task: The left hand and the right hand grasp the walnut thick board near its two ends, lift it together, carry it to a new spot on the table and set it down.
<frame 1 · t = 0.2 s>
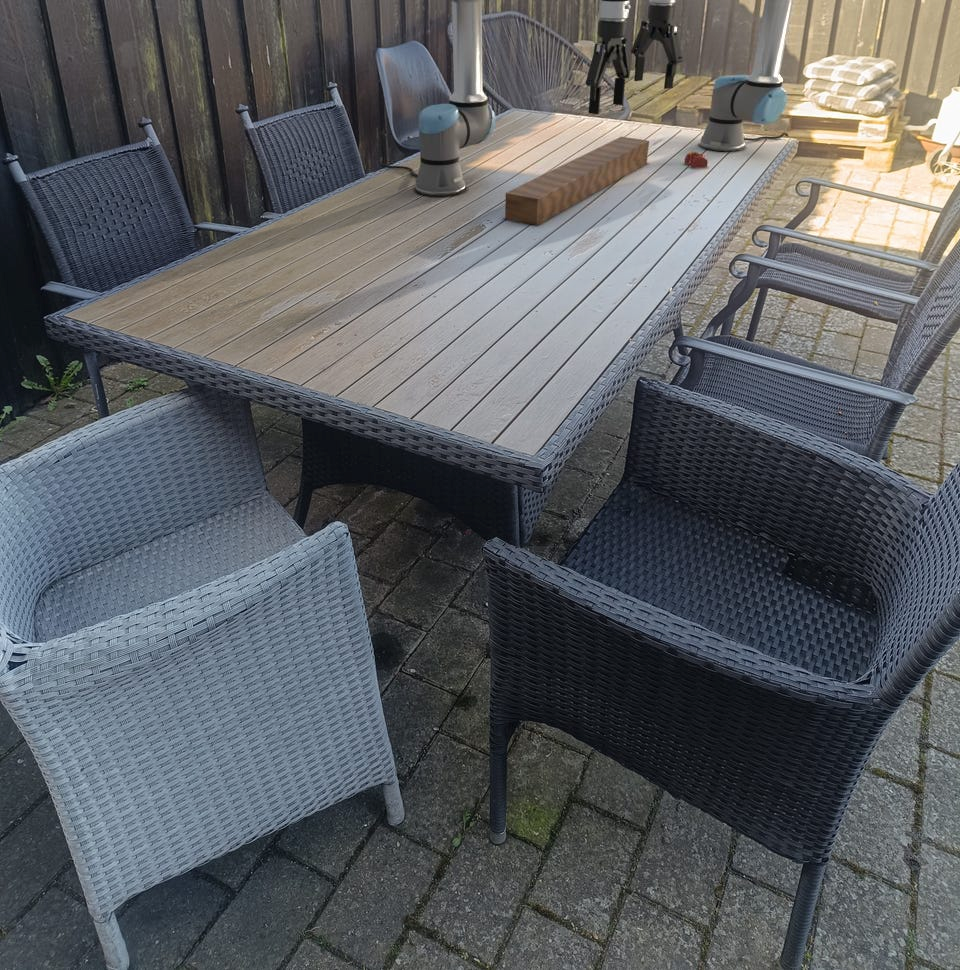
left hand: (606, 109, 226), 27 cm above the table, tool pointing down, fingers open, 13 cm apart
right hand: (652, 84, 255), 27 cm above the table, tool pointing down, fingers open, 13 cm apart
thick board: (582, 188, 259), on the table
dark red rounded lump: (695, 166, 280), on the table
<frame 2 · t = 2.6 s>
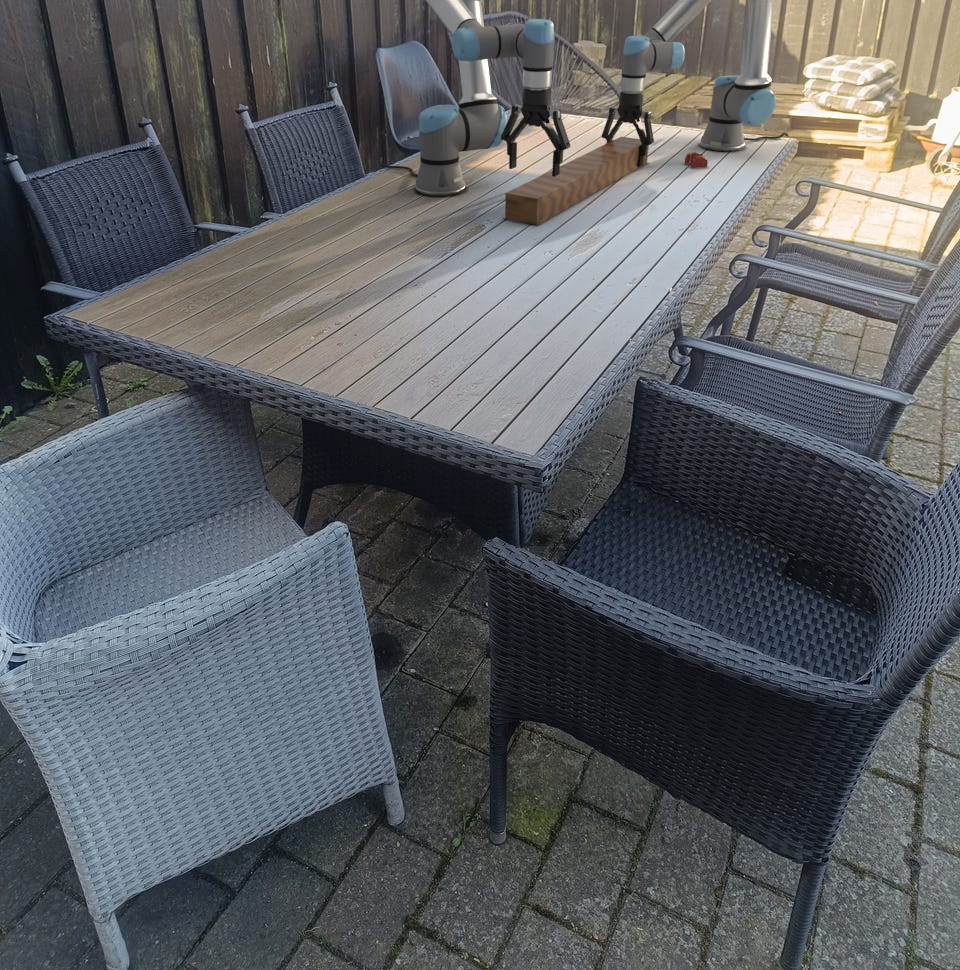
left hand: (533, 171, 231), 12 cm above the table, tool pointing down, fingers open, 13 cm apart
right hand: (624, 163, 280), 1 cm above the table, tool pointing down, fingers closed on thick board, 10 cm apart
thick board: (582, 188, 259), on the table, touching right hand
everything else where it was.
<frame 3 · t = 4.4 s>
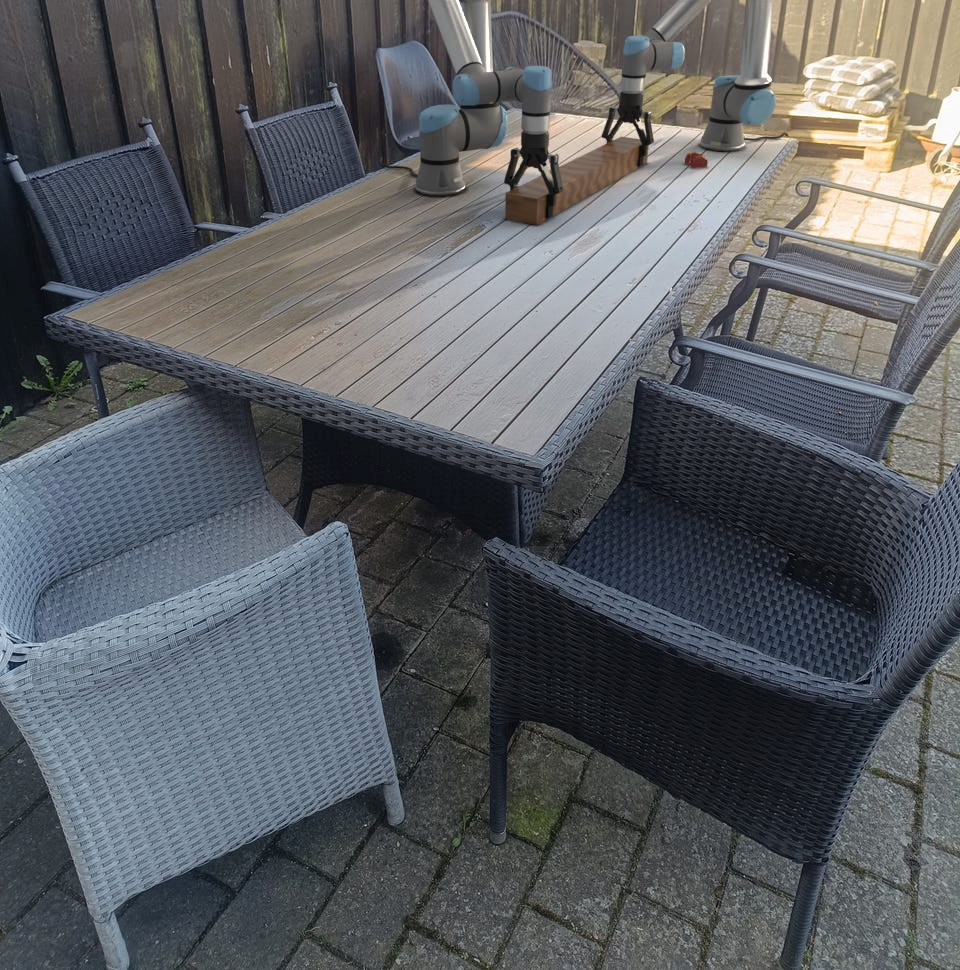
left hand: (532, 213, 238), 1 cm above the table, tool pointing down, fingers closed on thick board, 10 cm apart
right hand: (624, 163, 280), 1 cm above the table, tool pointing down, fingers closed on thick board, 10 cm apart
thick board: (582, 188, 259), on the table, touching left hand, right hand
everything else where it was.
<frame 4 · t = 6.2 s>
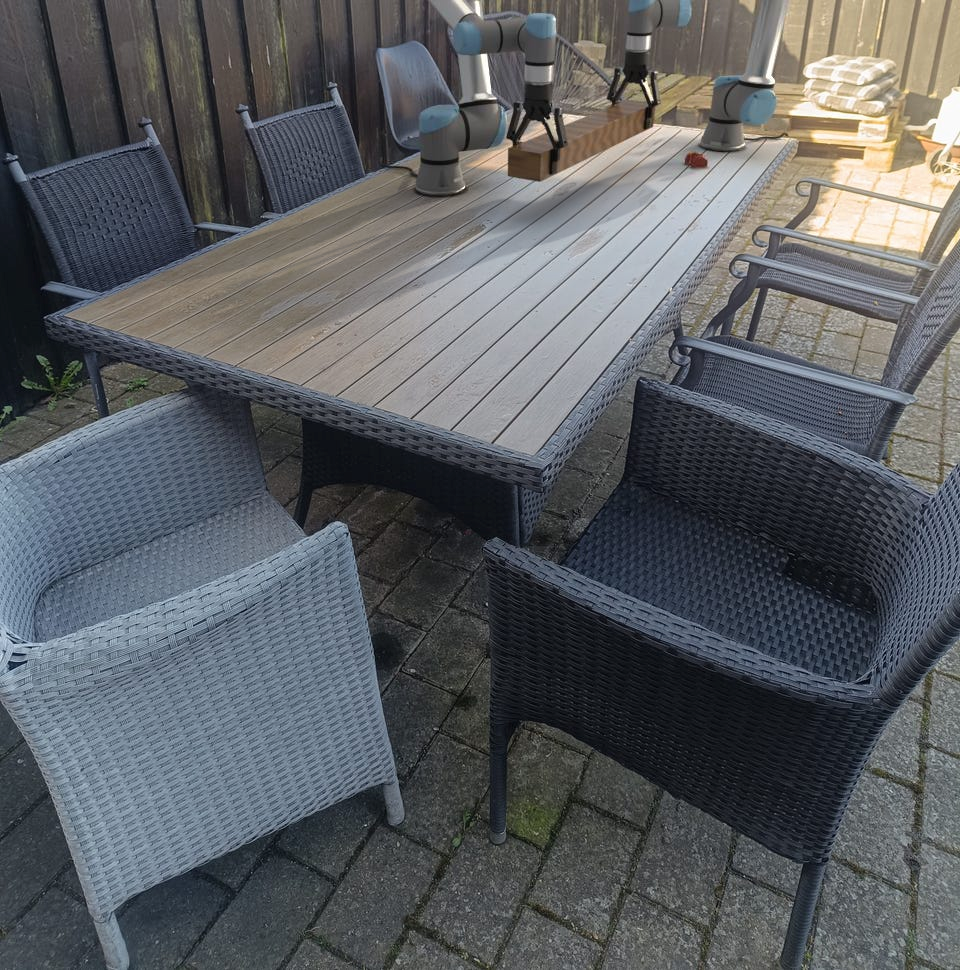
left hand: (535, 170, 231), 13 cm above the table, tool pointing down, fingers closed on thick board, 10 cm apart
right hand: (631, 126, 273), 12 cm above the table, tool pointing down, fingers closed on thick board, 10 cm apart
thick board: (587, 149, 252), point 12 cm above the table, touching left hand, right hand
everything else where it was.
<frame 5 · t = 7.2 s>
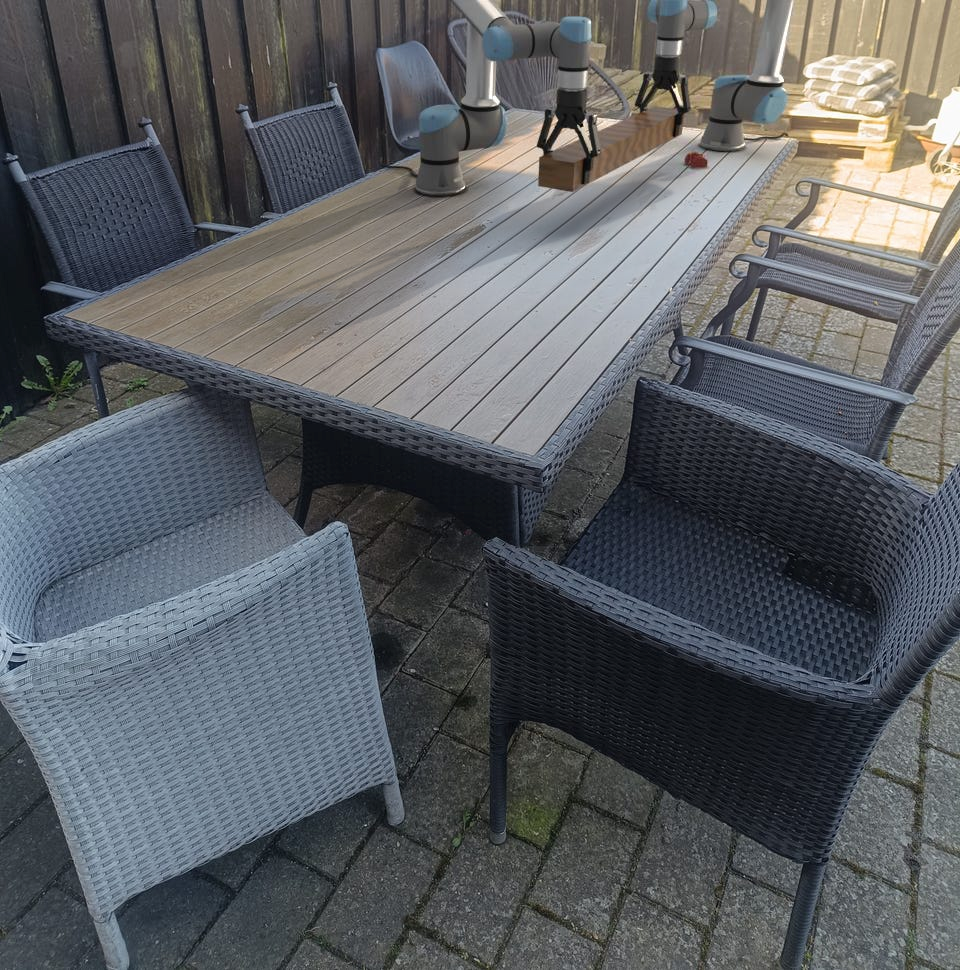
left hand: (566, 180, 221), 13 cm above the table, tool pointing down, fingers closed on thick board, 10 cm apart
right hand: (659, 133, 264), 13 cm above the table, tool pointing down, fingers closed on thick board, 10 cm apart
thick board: (616, 157, 243), point 12 cm above the table, touching left hand, right hand
everything else where it was.
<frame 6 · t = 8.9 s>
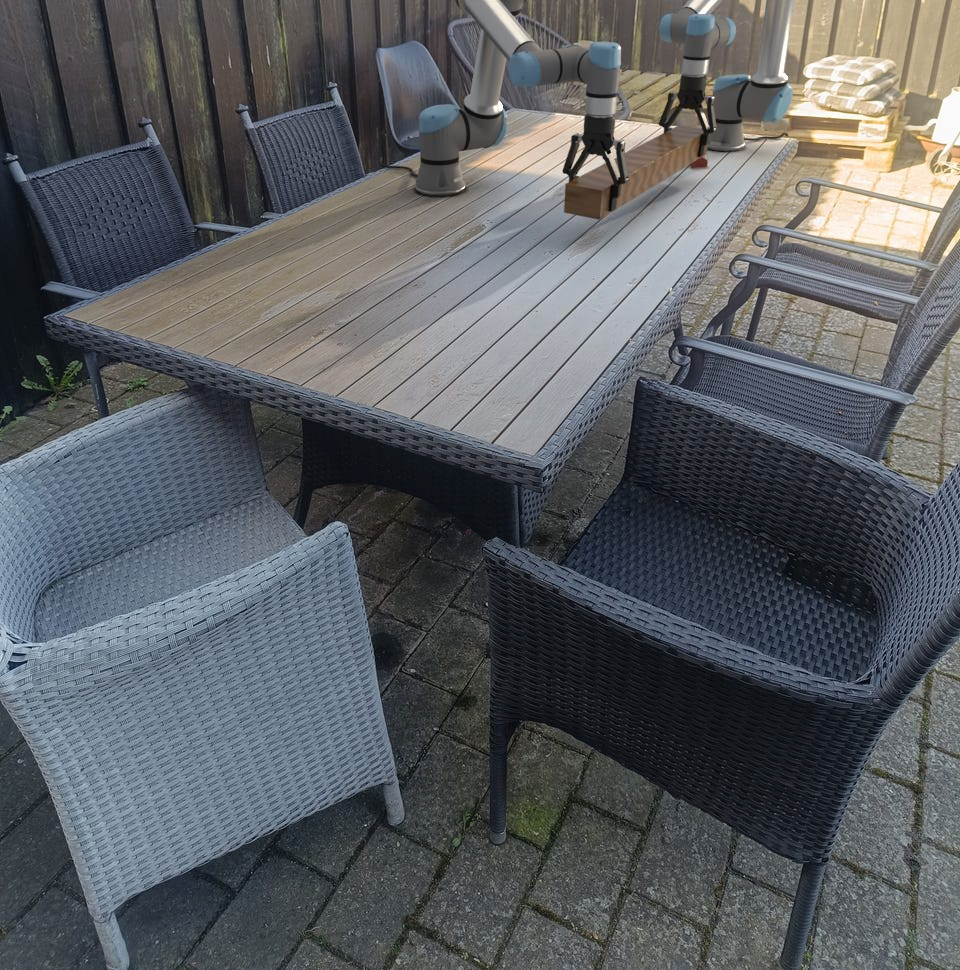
left hand: (592, 206, 217), 9 cm above the table, tool pointing down, fingers closed on thick board, 10 cm apart
right hand: (683, 153, 259), 9 cm above the table, tool pointing down, fingers closed on thick board, 10 cm apart
thick board: (642, 180, 239), point 8 cm above the table, touching left hand, right hand
everything else where it was.
when the left hand's fingers open (2 cm above the table, at t = 10.3 s): thick board drops 1 cm, on the table.
when the right hand's fingers open (2 cm above the table, at t = 10.3 s): thick board drops 1 cm, on the table.
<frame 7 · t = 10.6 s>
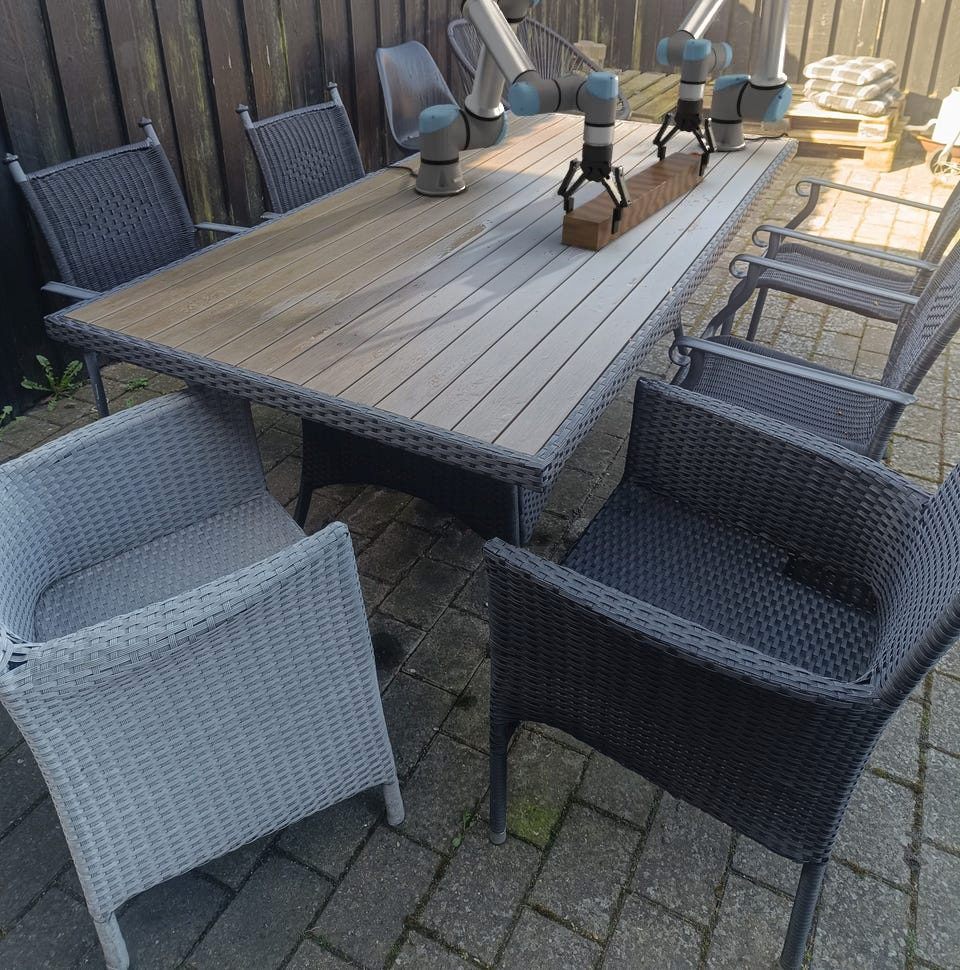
left hand: (591, 228, 220), 3 cm above the table, tool pointing down, fingers open, 13 cm apart
right hand: (680, 172, 262), 3 cm above the table, tool pointing down, fingers open, 13 cm apart
thick board: (638, 208, 243), on the table
everything else where it was.
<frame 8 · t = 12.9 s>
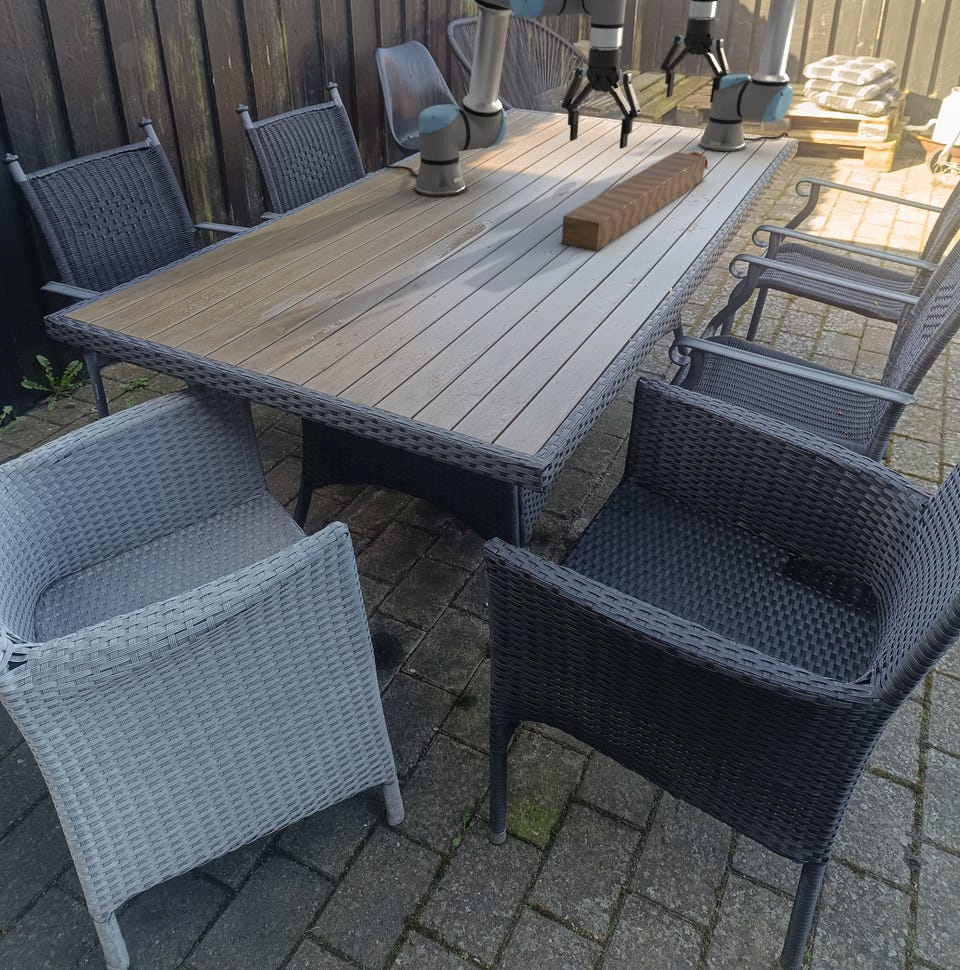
left hand: (598, 143, 208), 24 cm above the table, tool pointing down, fingers open, 13 cm apart
right hand: (690, 99, 250), 24 cm above the table, tool pointing down, fingers open, 13 cm apart
nothing on the table moved.
at the end: thick board inside the target area (0.2 cm from its centre), on the table; thick board tilted 0°; thick board never tilted more than 1° during the clip; both hands held the thick board at the same time; the left hand is holding nothing; the right hand is holding nothing; thick board at rest at the end (0.0 cm/s) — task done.
